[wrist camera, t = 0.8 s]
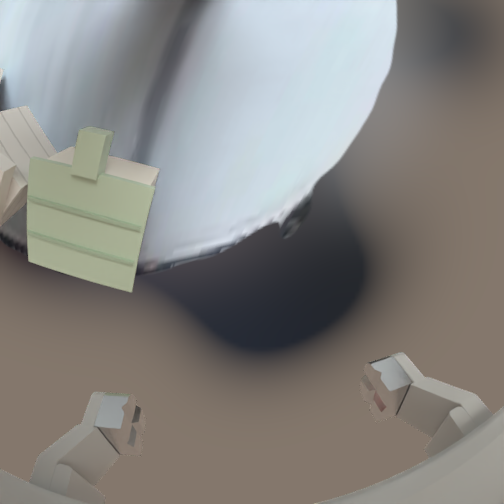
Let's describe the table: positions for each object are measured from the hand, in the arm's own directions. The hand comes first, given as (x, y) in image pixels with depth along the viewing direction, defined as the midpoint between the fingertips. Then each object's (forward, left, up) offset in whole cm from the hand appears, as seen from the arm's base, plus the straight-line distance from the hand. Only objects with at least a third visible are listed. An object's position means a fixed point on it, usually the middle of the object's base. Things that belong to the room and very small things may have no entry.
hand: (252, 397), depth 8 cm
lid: (+12, -16, -33) cm, 38 cm away
